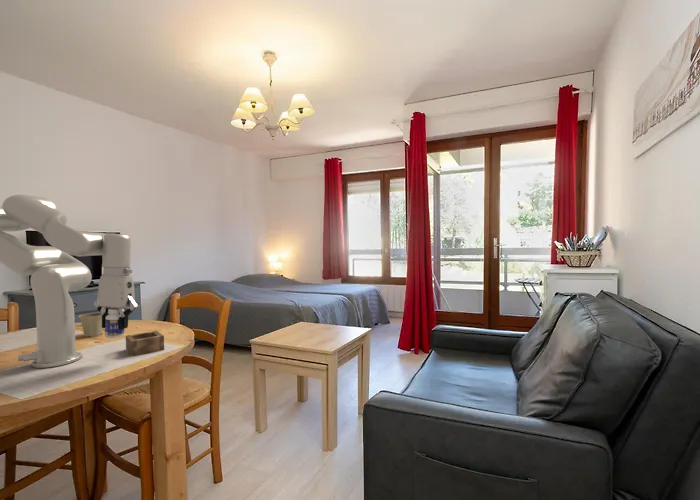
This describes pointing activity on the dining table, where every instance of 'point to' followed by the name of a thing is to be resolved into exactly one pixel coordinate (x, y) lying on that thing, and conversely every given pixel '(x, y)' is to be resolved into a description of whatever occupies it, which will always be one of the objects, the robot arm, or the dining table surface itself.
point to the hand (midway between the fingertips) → (114, 327)
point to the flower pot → (91, 324)
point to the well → (144, 343)
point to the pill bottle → (113, 324)
